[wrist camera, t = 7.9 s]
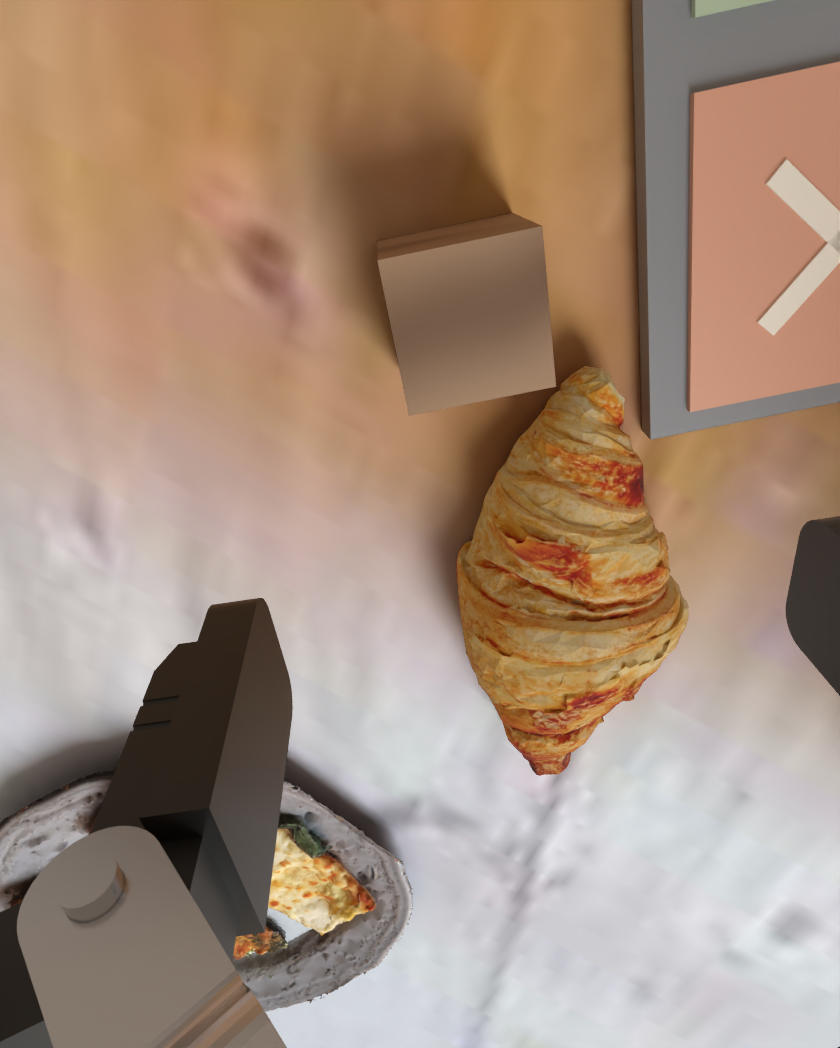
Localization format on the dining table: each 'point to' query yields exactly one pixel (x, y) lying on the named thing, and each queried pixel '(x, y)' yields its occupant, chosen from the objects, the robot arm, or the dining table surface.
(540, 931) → the dining table surface
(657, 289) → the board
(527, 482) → the croissant
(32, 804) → the food plate
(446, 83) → the dining table surface
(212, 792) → the robot arm
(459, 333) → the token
